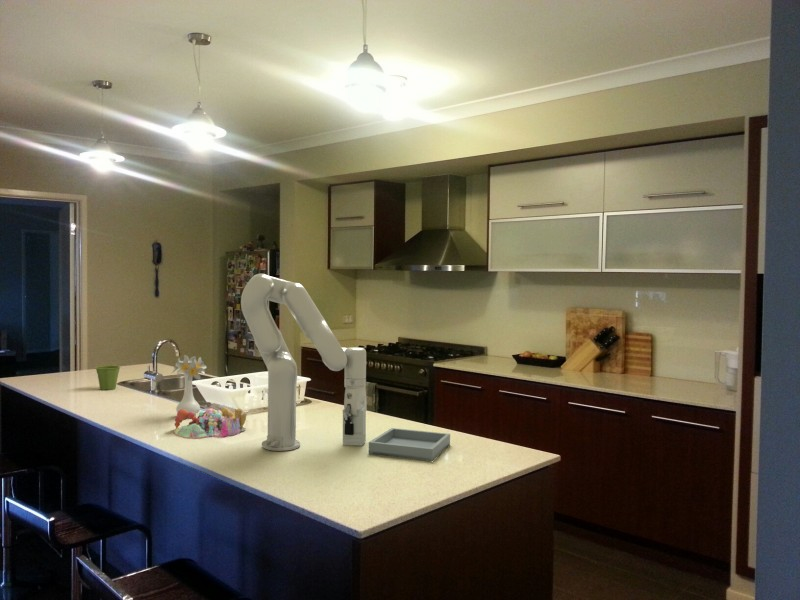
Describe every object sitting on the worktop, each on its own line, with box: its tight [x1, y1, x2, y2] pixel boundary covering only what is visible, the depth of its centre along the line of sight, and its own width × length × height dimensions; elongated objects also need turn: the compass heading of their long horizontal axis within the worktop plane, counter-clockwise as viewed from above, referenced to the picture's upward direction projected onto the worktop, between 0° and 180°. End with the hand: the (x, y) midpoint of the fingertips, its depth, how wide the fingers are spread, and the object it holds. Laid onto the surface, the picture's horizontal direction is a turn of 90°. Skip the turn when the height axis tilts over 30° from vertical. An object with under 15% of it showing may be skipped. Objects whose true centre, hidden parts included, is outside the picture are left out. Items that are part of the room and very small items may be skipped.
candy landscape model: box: [173, 407, 248, 440], centre depth 235 cm, size 25×24×9 cm
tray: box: [368, 427, 451, 462], centre depth 214 cm, size 22×22×4 cm
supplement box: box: [342, 407, 367, 447], centre depth 221 cm, size 7×7×13 cm
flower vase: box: [171, 354, 207, 419], centre depth 258 cm, size 13×18×25 cm
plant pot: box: [94, 365, 121, 391], centre depth 318 cm, size 12×12×11 cm
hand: (354, 431), depth 221 cm, fingers closed on supplement box, 8 cm apart
